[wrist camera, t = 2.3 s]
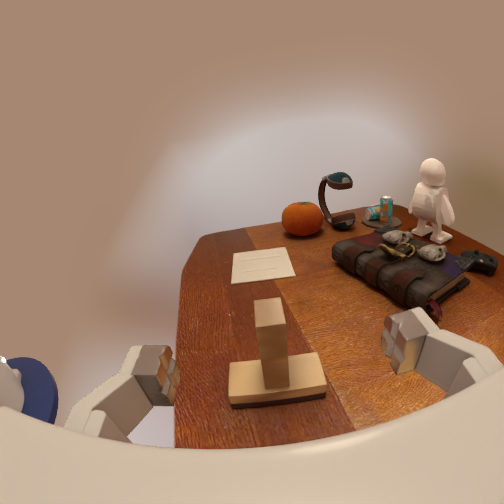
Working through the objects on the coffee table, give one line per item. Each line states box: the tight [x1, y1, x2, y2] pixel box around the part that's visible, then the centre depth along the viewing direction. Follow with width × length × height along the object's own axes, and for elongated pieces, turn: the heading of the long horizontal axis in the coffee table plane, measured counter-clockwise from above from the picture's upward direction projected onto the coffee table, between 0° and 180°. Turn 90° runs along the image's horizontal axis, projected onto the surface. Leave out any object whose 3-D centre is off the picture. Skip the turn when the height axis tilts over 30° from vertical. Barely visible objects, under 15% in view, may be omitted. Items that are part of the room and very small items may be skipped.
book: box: [332, 225, 474, 320], centre depth 43 cm, size 26×18×7 cm
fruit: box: [282, 202, 323, 236], centre depth 69 cm, size 11×10×8 cm
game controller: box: [461, 250, 498, 276], centre depth 41 cm, size 10×5×6 cm
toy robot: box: [408, 158, 455, 244], centre depth 55 cm, size 14×9×20 cm, turn 24°
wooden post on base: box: [228, 297, 327, 409], centre depth 26 cm, size 10×5×11 cm, turn 92°
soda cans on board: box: [362, 195, 401, 228], centre depth 70 cm, size 12×12×8 cm
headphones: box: [318, 172, 364, 229], centre depth 69 cm, size 6×15×22 cm
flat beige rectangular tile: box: [231, 247, 295, 284], centre depth 57 cm, size 12×14×1 cm
